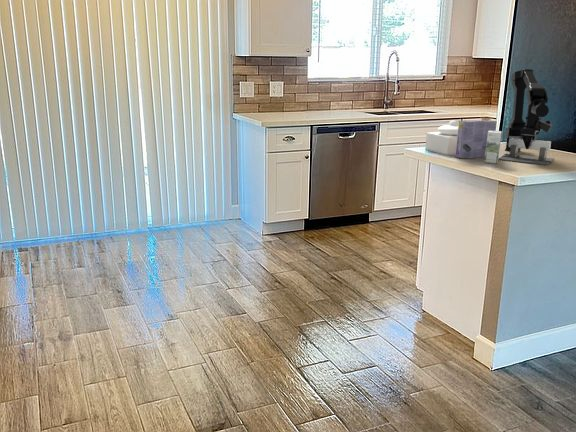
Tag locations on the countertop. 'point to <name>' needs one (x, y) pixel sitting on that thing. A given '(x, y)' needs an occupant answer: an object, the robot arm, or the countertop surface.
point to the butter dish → (443, 139)
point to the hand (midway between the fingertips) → (528, 147)
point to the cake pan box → (473, 138)
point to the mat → (524, 161)
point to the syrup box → (493, 147)
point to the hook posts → (541, 156)
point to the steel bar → (533, 145)
